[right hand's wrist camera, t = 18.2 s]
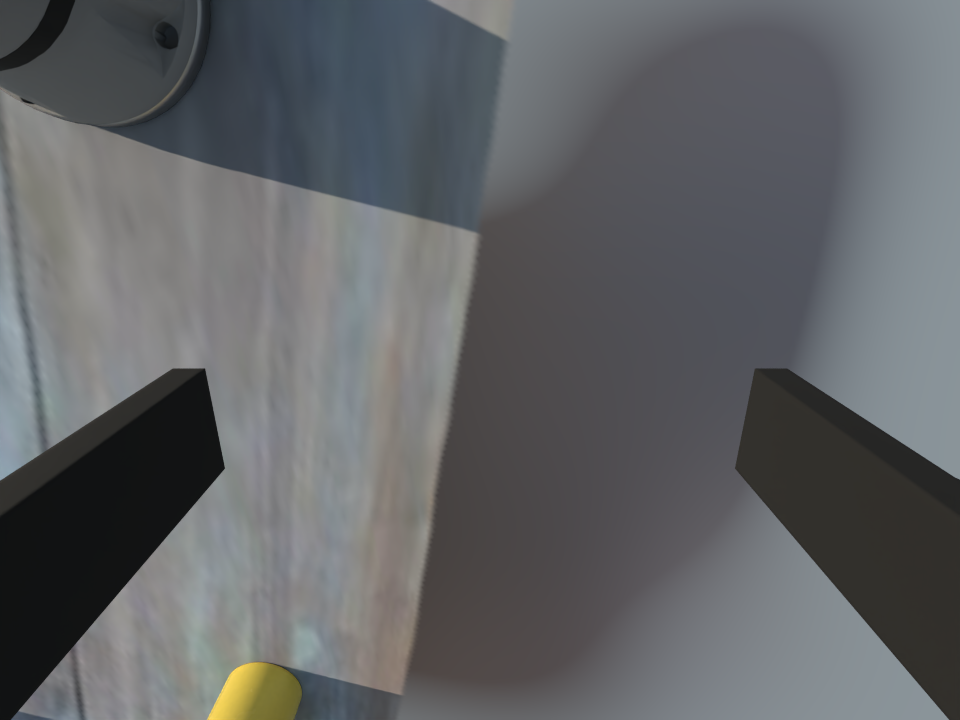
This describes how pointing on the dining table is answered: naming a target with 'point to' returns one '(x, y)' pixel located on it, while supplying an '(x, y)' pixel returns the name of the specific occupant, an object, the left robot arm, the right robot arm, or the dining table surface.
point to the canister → (258, 694)
